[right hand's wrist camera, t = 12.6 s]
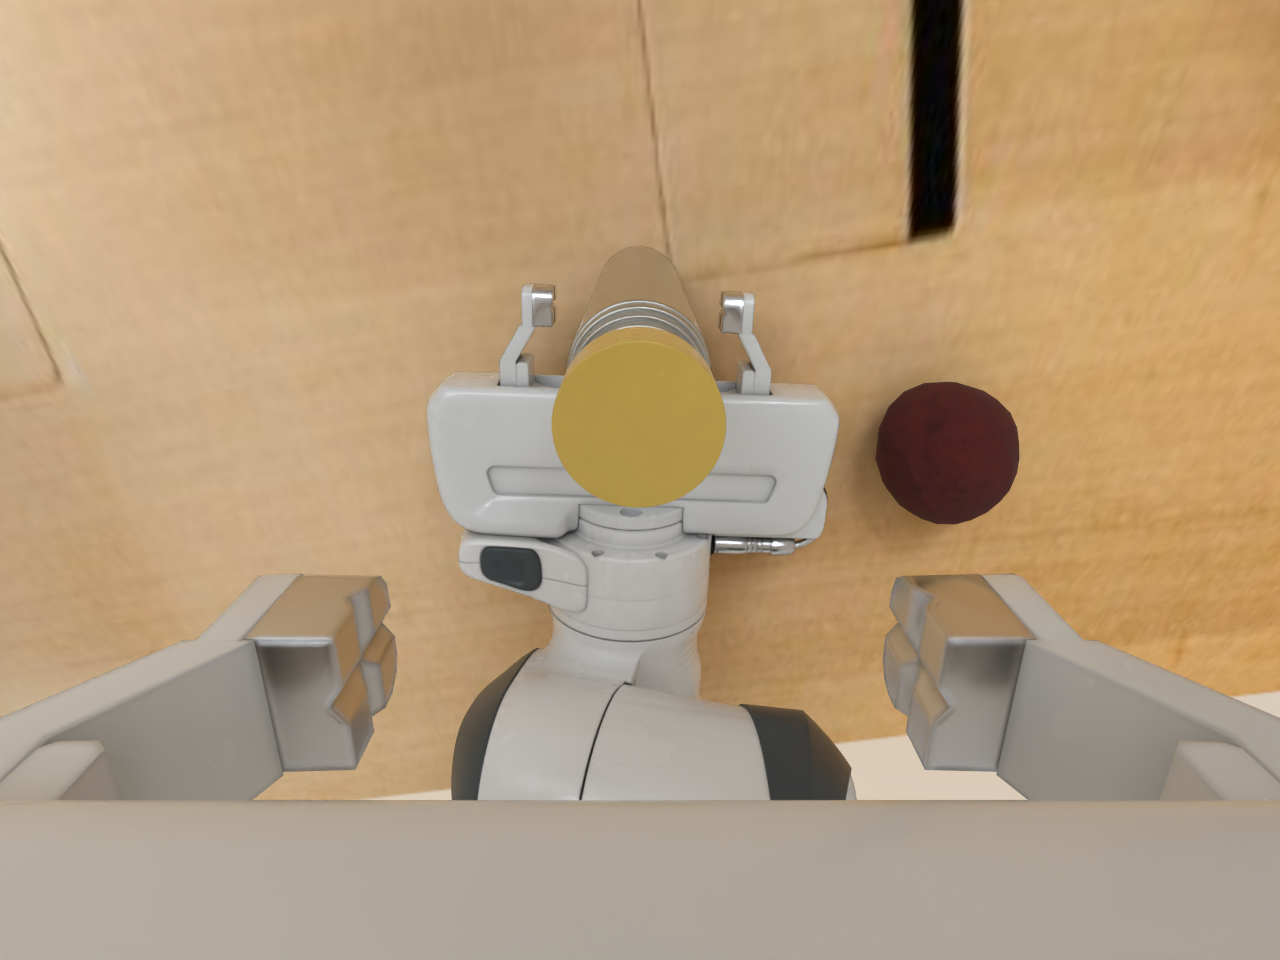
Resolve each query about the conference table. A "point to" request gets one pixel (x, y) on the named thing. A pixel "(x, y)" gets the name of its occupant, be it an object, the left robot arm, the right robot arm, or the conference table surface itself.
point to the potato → (947, 452)
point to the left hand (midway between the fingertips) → (638, 288)
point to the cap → (638, 418)
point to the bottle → (639, 301)
